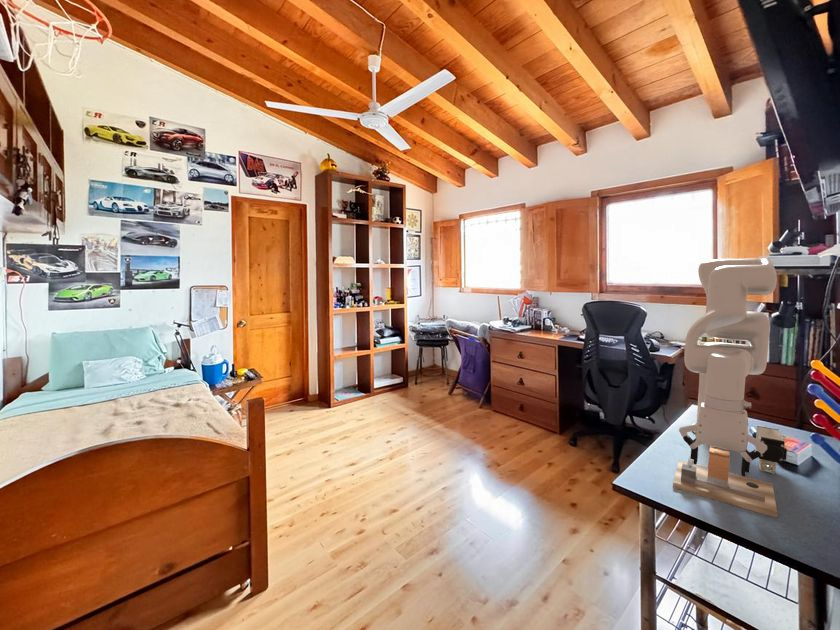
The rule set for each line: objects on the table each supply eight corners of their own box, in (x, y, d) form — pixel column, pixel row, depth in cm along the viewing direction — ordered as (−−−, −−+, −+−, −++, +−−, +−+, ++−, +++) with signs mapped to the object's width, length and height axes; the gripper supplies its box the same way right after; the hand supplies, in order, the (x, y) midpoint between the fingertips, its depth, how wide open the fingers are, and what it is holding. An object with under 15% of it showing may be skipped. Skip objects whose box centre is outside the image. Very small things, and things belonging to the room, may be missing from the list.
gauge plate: (678, 464, 110) (679, 448, 109) (771, 489, 97) (773, 470, 97) (672, 487, 99) (673, 469, 99) (776, 517, 87) (778, 497, 86)
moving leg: (708, 471, 103) (710, 440, 101) (727, 476, 100) (729, 444, 99) (706, 487, 96) (709, 453, 95) (727, 492, 93) (729, 458, 92)
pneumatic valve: (758, 477, 103) (762, 435, 101) (753, 458, 112) (756, 420, 110) (786, 483, 99) (790, 440, 98) (778, 464, 109) (782, 424, 107)
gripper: (769, 405, 90) (763, 472, 93) (682, 392, 101) (678, 452, 104) (772, 415, 85) (765, 486, 87) (679, 400, 96) (675, 463, 98)
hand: (718, 467), depth 95 cm, fingers open, 9 cm apart
